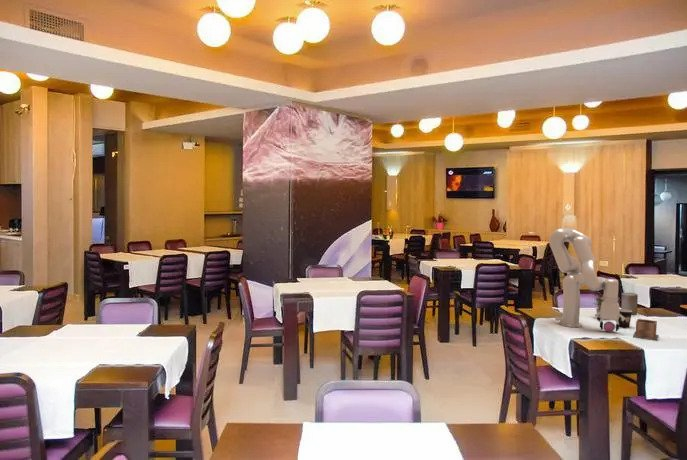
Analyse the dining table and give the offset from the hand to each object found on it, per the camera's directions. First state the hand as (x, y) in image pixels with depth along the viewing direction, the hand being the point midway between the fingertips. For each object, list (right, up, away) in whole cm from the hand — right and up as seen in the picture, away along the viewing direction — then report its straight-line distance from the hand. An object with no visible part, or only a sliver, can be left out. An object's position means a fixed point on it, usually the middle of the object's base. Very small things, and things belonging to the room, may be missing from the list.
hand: (609, 329), depth 322 cm
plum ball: (0, -1, 0) cm, 1 cm away
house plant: (+11, +1, +35) cm, 36 cm away
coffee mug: (+14, -1, +14) cm, 19 cm away
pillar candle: (+38, +1, +51) cm, 64 cm away
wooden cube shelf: (+16, -2, -10) cm, 19 cm away
